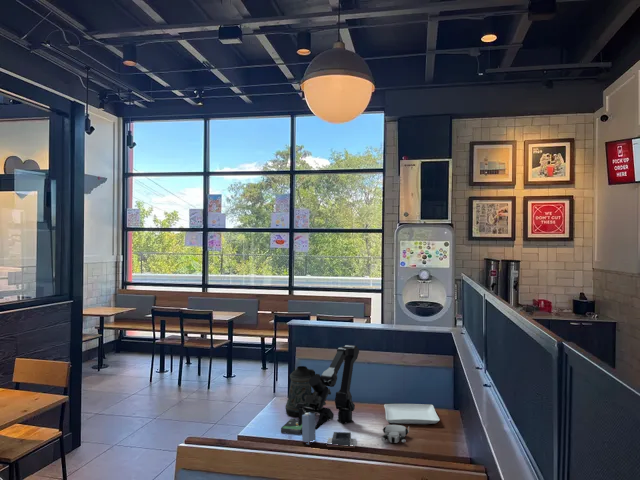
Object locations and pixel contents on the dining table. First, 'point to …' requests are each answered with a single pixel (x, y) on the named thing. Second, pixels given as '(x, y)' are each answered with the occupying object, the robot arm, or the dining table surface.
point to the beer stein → (299, 389)
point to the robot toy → (395, 433)
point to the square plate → (411, 414)
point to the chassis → (342, 439)
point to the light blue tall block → (308, 427)
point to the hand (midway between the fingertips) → (307, 427)
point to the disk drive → (292, 427)
